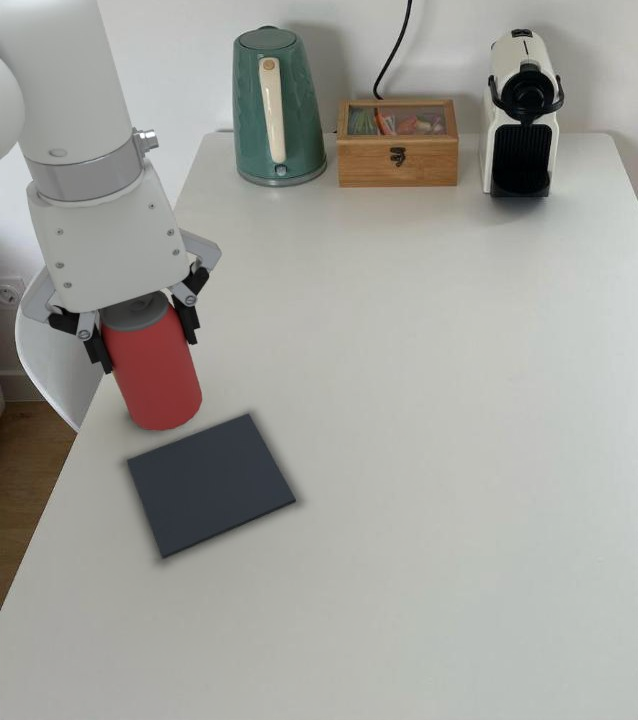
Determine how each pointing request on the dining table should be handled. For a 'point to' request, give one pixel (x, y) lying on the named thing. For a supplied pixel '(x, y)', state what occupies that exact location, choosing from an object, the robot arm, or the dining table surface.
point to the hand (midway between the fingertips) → (147, 348)
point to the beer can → (151, 361)
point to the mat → (208, 484)
